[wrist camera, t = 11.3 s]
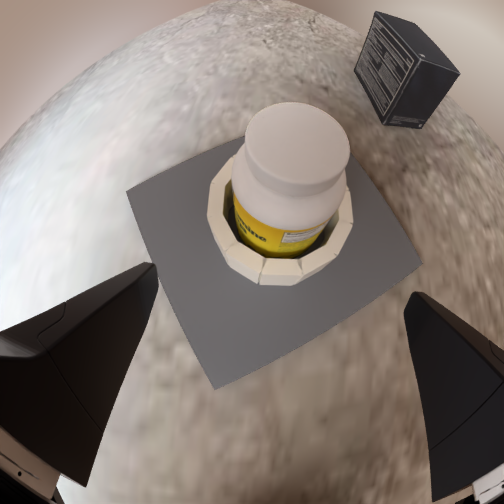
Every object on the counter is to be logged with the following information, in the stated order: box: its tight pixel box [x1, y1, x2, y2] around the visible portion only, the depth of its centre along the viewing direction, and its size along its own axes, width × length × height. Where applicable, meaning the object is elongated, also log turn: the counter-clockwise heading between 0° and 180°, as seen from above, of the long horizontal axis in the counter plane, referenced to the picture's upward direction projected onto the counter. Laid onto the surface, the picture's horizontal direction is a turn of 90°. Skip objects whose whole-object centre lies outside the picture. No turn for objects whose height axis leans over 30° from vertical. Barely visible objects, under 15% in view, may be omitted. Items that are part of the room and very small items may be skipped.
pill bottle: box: [231, 102, 350, 259], centre depth 16 cm, size 6×6×11 cm
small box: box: [354, 11, 460, 129], centre depth 23 cm, size 11×6×10 cm, turn 7°
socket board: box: [126, 136, 423, 390], centre depth 20 cm, size 20×18×5 cm
